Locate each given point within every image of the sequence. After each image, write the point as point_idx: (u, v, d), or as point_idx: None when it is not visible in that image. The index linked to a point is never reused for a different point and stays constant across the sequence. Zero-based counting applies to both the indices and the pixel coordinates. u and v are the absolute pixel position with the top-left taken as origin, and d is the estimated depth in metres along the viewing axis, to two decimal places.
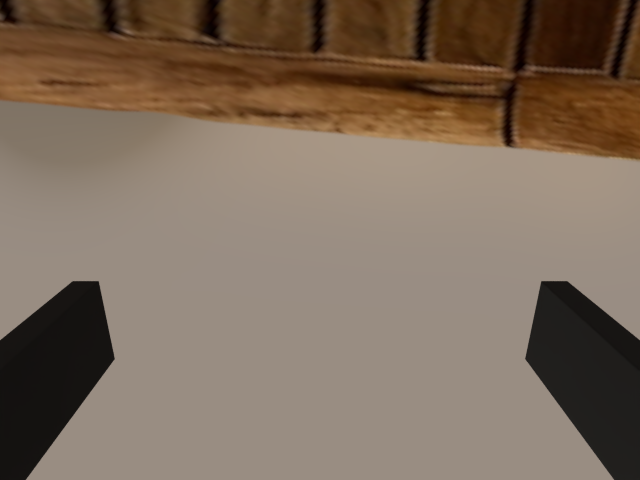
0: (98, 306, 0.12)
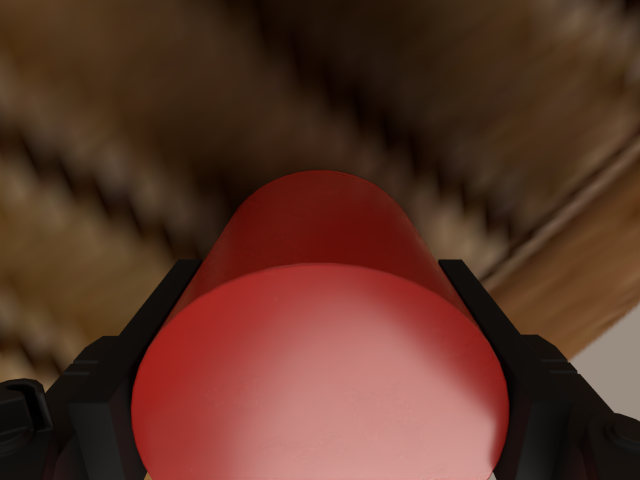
0: None
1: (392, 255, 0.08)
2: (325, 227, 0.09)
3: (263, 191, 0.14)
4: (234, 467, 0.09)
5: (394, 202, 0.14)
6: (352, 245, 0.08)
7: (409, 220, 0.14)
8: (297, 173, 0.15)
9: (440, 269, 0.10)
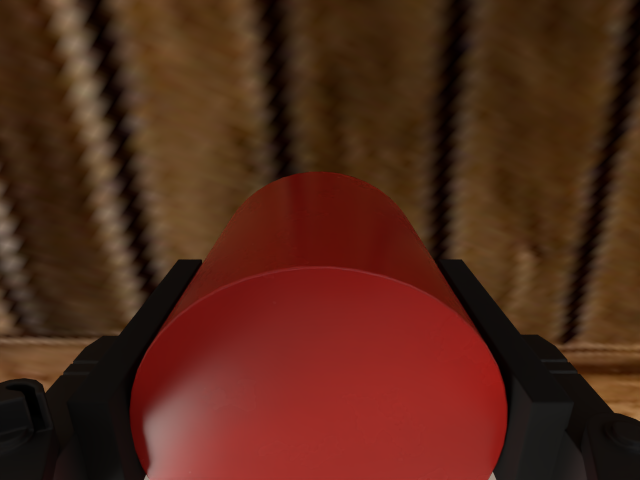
0: None
1: (390, 258, 0.08)
2: (323, 229, 0.09)
3: (262, 193, 0.14)
4: (233, 470, 0.09)
5: (393, 204, 0.14)
6: (351, 248, 0.08)
7: (408, 222, 0.14)
8: (296, 175, 0.15)
9: (439, 272, 0.10)
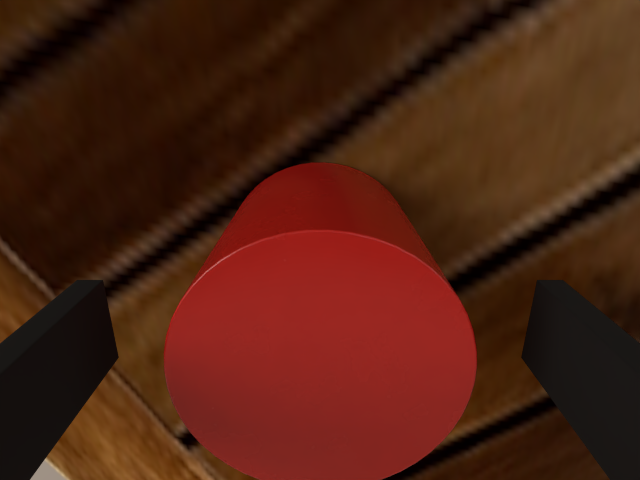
0: (102, 305, 0.12)
1: (379, 227, 0.10)
2: (324, 205, 0.11)
3: (269, 181, 0.16)
4: (248, 406, 0.11)
5: (386, 191, 0.16)
6: (346, 218, 0.10)
7: (399, 206, 0.16)
8: (299, 165, 0.16)
9: (422, 243, 0.12)
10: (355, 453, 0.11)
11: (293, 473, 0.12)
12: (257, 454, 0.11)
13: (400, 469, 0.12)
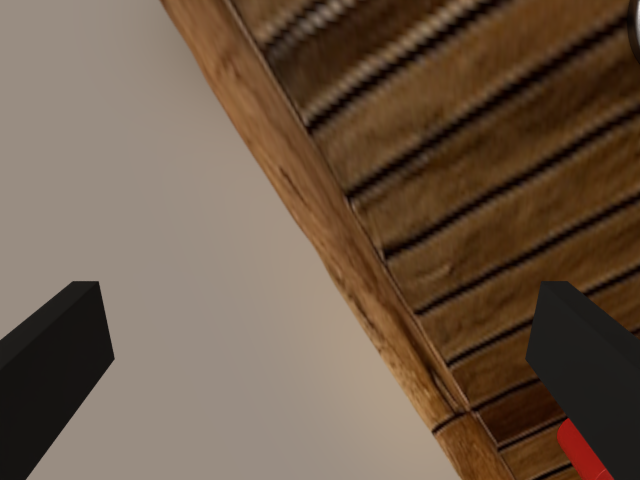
0: (98, 306, 0.12)
1: None
2: None
3: None
4: None
5: None
6: None
7: None
8: None
9: None
10: None
11: None
12: None
13: None
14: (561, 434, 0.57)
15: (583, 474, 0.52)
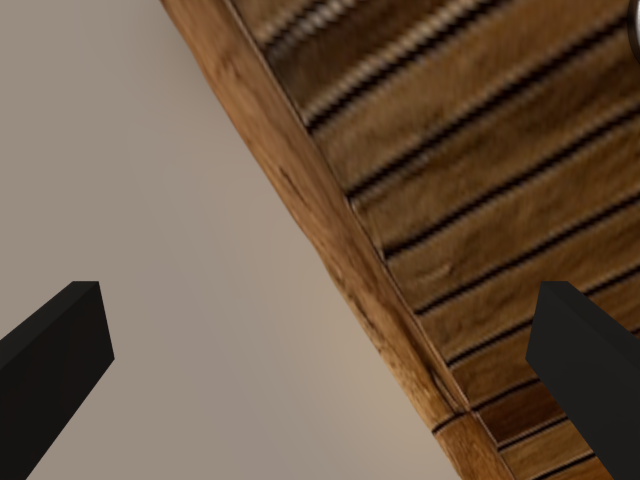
0: (98, 306, 0.12)
1: None
2: None
3: None
4: None
5: None
6: None
7: None
8: None
9: None
10: None
11: None
12: None
13: None
14: None
15: None
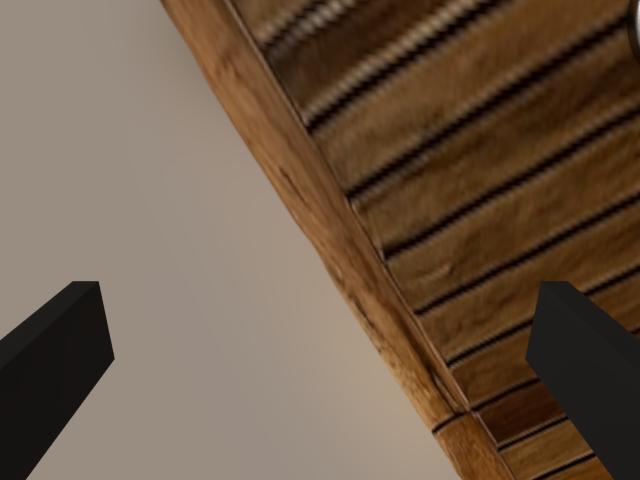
0: (98, 306, 0.12)
1: None
2: None
3: None
4: None
5: None
6: None
7: None
8: None
9: None
10: None
11: None
12: None
13: None
14: None
15: None
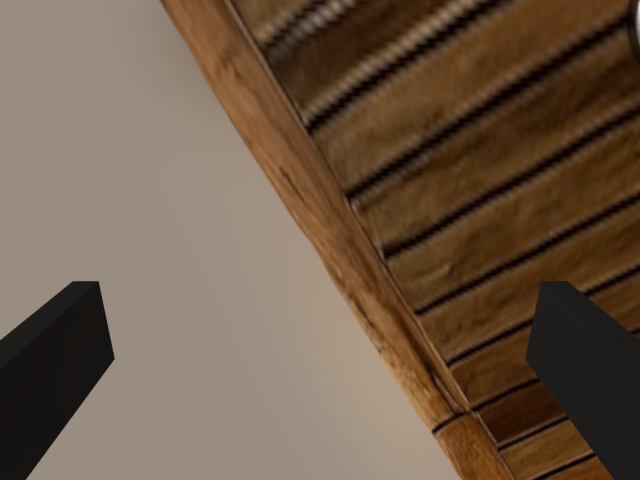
0: (98, 306, 0.12)
1: None
2: None
3: None
4: None
5: None
6: None
7: None
8: None
9: None
10: None
11: None
12: None
13: None
14: None
15: None
